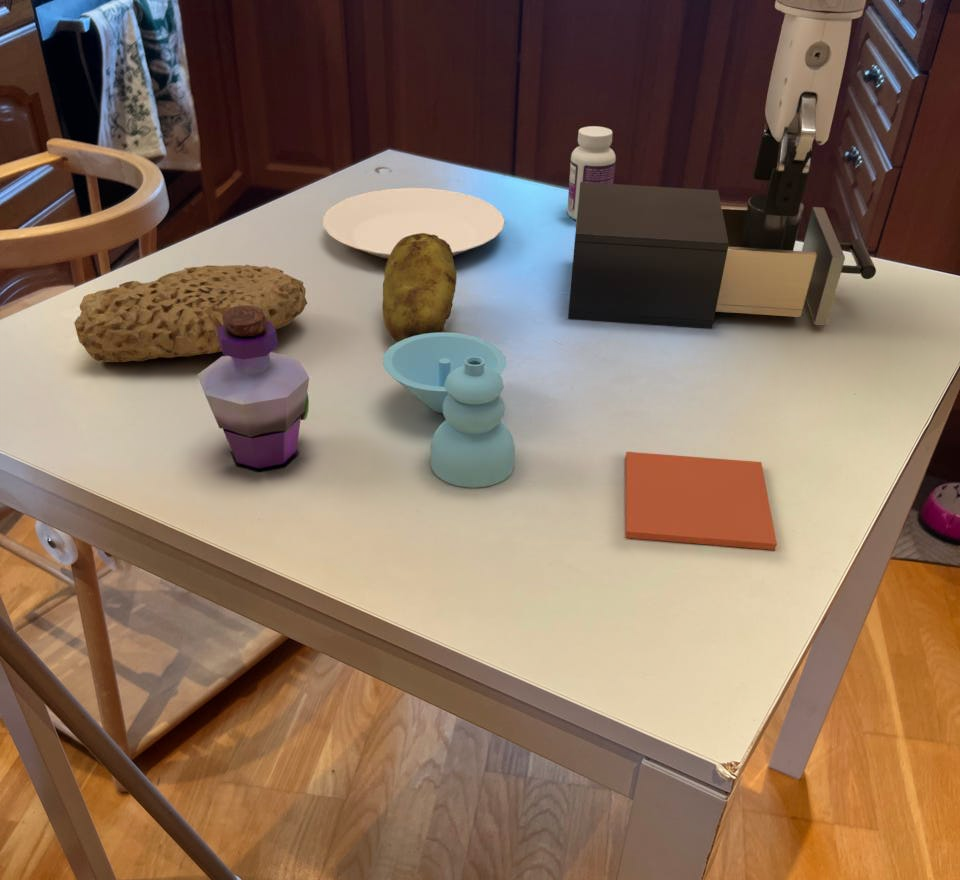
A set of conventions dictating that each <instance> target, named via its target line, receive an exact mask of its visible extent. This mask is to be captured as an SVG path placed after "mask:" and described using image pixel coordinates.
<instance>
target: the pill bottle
mask: <svg viewBox="0 0 960 880" xmlns="http://www.w3.org/2000/svg"><path fill="white" fill-rule="evenodd" d="M612 143H613V130H612V129H610V128H609V127H604V126H599V125H598V126H595V125H591V126H589V125H588V126H584V127H581V128H579V129H578V134H577V144H578V146H576V147H575V148H574V149H573V151H572V152H571V155H570V166H569V167H570V168H569V178H568V179H569V180H568V181H569V182H568V193H567V194H568V195H567V208H566V209H567V210H566V211H567V215H568V216H569V217H570V218H572V219H573V220H575V221H577V212H578V201H579V191H580V182H586V183H603V184H614V179H615V171H616V170H615V169H616V162H617V161H616V160H617V156H616V153H615V151H614V150H613V149H612V148H611V145H612Z"/></svg>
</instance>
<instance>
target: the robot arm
mask: <svg viewBox="0 0 960 880" xmlns="http://www.w3.org/2000/svg"><path fill="white" fill-rule="evenodd" d="M866 2H867V0H775V3H774V9H775V10H777V11H779V12H781V13H784V18H783V22H782V24H781V30H780V34H779V39H778V43H777V46H776V51H775V56H774V59H773V65H772V70H771V74H770V78H769V85H768V89H767V95H766V100H765V107H764V109H765V111H764V114H765V115H764V116H765V119H766V121H765V125H764V128H763V135H761V138H760V142H759V148H758V152H757V155H756V161H755V166H754V170H753V177H754V179H755V180H757V181H769V183H768V187H767V192H766V194H767V196H766V200H765V205H764V213H765V214H766V215H777V216H790V217H795V216H796V215H797V214H798V212H799V208H800V204H801V203H802V200H803V197H804V193H805V189H806V184H807V180H808V176H809V171H810V167H811V159H812V155H813V143H814V141H815V142H816V144H817V145H818V146H822V145H824V144H826V143H827V141H828V140H829V137H830V133H831V127H832V123H833V119H834V115H835V110H836V106H837V101H838V96H839V92H840V88H841V84H842V79H843V74H844V69H845V65H846V59H847V53H848V49H849V43H850V37H851V30H852V23H853V22H852V21H853V20H855V19H859V18H861V17H863V14H864V10H865V6H866Z"/></svg>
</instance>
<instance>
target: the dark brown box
mask: <svg viewBox="0 0 960 880" xmlns="http://www.w3.org/2000/svg"><path fill="white" fill-rule="evenodd" d="M721 206H722V202H721V199H720V194H719V190H717V189H705V188H703V189H701V188H687V187H686V188H683V187H671V186H669V187H667V186H651V185H636V184H635V185H634V184H618V183H613V184H603V183H586V182H580V191H579V201H578V212H577V220H576V224H575V233H574V247H573V257H572V269H571V279H570V288H569V289H570V290H569V303H568V313H567V319H568V320H581V321H596V322H597V321H598V322H612V323H624V324H625V323H627V324H640V325H656V326H670V327H683V328H685V327H686V328H698V329H713V326H714V321H715V317H716V307H717V302H718V297H719V292H720V287H721V281H722V276H723V271H724V266H725V261H726V256H727V250H728V246H729V241H728V237H727V232H726V227H725V222H724V217H723V212H722V208H721Z"/></svg>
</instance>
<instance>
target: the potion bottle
mask: <svg viewBox="0 0 960 880" xmlns="http://www.w3.org/2000/svg"><path fill="white" fill-rule="evenodd" d="M222 319H223V323H224V325H222V326H221V327H219V328H218V329H217V334H218V340H219V345H220V348H221V350H222V355H221V356H220V357H219V358H217V359H216V360H215V361H214V362H212V363H211V364H210V365H208V366H207V367H206V368H204V369H202V371H199V373H197V374H196V375H197V378H198V381H199V383H200V386H201V388H202V391H203V393H204V396H205V398H206V401H207V403H208V405H209V407H210V410H211V412H212V414H213V417H214V419H215V422H216V424H217V426H218V429H222V431H223V433H224V435H225V438H226V440H227V442H228V444H229V447H230V449H231V451H230V455H231V457H232V460H233V462H234V465H235V467H238V468H239V467H240V468H243V469H245V470H246V469H247V470H250V471H253V472H257V473H261V472H266V471H272V470H276V469H277V470H278V469H282V468H286V467H287V466H288V465H289V464H290V463H291V462H293V460H294V459H295V458H297V456H299V455H300V452H299V451H298V442H299V433H300V426H301V421H305V420H306V419H307V417H308V414H309V407H310V406H309V405H310V404H309V403H310V402H309V401H310V400H309V393H308V391H309V390H308V389H309V382H310V377H309V375H308V372H307V371H306V369H305V367H304V366H303V363H302V362H301V360H300V358H298V357H294V356H290V355H286V354H282V353H281V354H280V353H277V352H273V351H274V350H275V349H277V348H278V347H279V344H278V337H277V329H276V330H275V328H274V327H273V325H272V323H271V321H267V320H266V317H265V315H264V314H263V310H262V309H261V308H259V307H257V306H236V307H232V308H230V309H227V310H226V311H225V312H224V313H223V315H222Z"/></svg>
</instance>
